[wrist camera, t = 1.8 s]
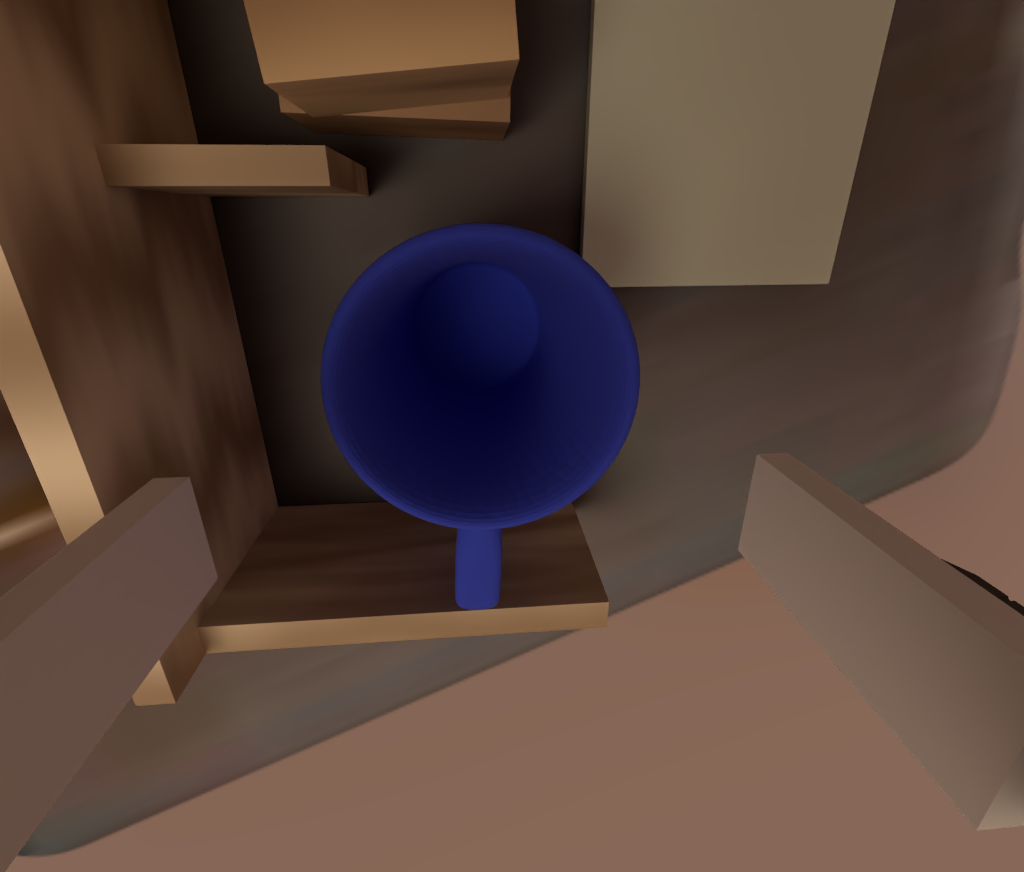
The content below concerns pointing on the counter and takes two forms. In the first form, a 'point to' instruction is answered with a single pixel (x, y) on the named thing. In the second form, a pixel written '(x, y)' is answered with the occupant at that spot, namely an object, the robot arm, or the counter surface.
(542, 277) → the mug
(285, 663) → the counter surface
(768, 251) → the sage tile
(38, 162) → the rack
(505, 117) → the offcut walnut
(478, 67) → the offcut oak
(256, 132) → the counter surface
